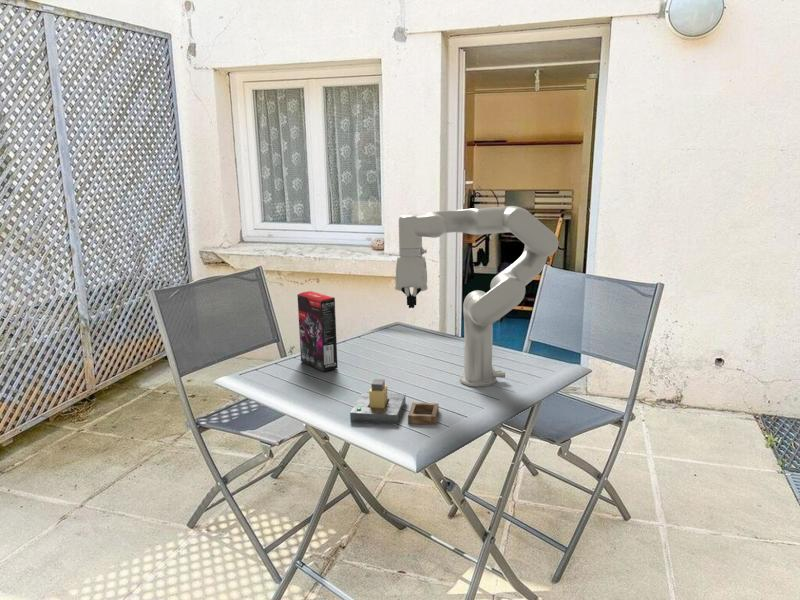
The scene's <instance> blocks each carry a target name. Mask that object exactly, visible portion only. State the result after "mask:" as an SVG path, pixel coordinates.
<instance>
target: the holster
mask: <svg viewBox="0 0 800 600" xmlns="http://www.w3.org/2000/svg"><path fill="white" fill-rule="evenodd" d="M439 409H440V408H439V403H435V402H434V403H433V402H411V406H410V408H409V411H408V414H407V423H408V424H415V425H432V426H433V425H436V423H437V420H438V415H439ZM417 413H418V414H417ZM420 413H421V414H420ZM422 413H423V414H422ZM424 413H431V414H424Z"/></svg>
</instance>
